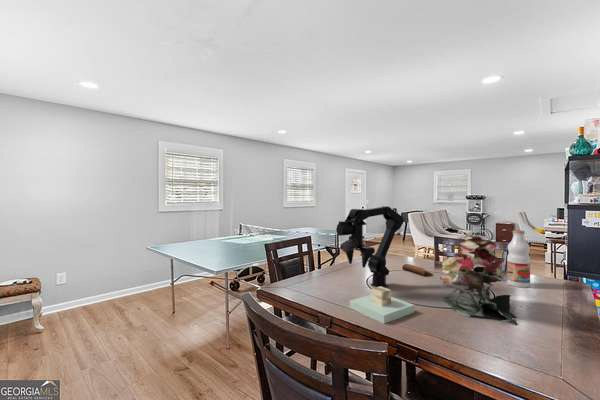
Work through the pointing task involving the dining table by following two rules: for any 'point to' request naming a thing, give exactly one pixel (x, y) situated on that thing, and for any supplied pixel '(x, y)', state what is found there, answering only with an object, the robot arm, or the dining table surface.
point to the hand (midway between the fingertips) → (356, 265)
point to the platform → (382, 309)
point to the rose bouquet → (476, 279)
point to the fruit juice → (518, 261)
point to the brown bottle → (416, 270)
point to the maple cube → (381, 296)
